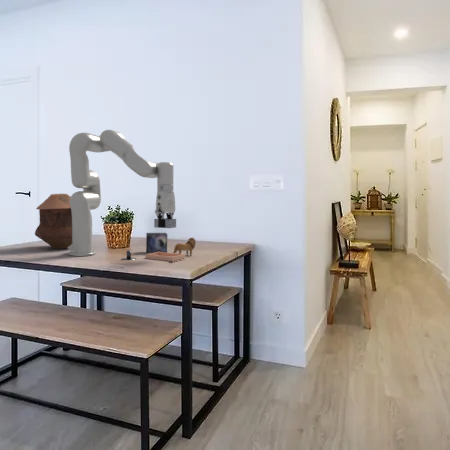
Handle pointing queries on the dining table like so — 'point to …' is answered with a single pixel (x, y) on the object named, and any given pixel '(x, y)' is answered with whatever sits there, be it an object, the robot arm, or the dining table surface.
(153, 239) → the small box
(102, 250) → the dining table surface
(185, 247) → the lion figurine
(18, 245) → the dining table surface
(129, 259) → the dark knobbed lid
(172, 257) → the tray
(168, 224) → the frame
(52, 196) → the pottery vessel
